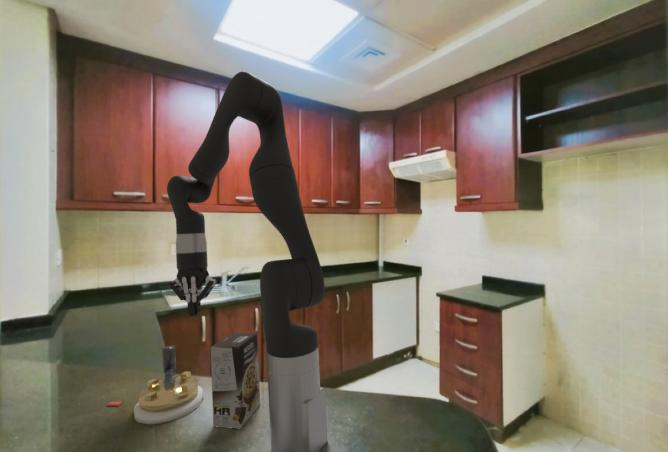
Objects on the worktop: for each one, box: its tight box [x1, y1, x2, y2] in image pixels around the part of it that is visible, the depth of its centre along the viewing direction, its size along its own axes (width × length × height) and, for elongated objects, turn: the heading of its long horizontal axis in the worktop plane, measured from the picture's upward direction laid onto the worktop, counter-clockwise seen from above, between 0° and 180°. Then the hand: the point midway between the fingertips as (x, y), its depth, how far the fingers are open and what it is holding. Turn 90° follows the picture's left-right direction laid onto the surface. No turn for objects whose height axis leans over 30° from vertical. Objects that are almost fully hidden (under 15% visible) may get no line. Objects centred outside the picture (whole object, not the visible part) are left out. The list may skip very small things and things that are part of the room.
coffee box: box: [210, 332, 261, 429], centre depth 66 cm, size 9×6×16 cm
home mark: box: [106, 401, 124, 407], centre depth 73 cm, size 3×1×1 cm, turn 83°
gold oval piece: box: [138, 344, 199, 412], centre depth 74 cm, size 18×12×8 cm, turn 28°
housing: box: [133, 385, 204, 425], centre depth 71 cm, size 14×14×2 cm
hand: (194, 315), depth 83 cm, fingers closed
